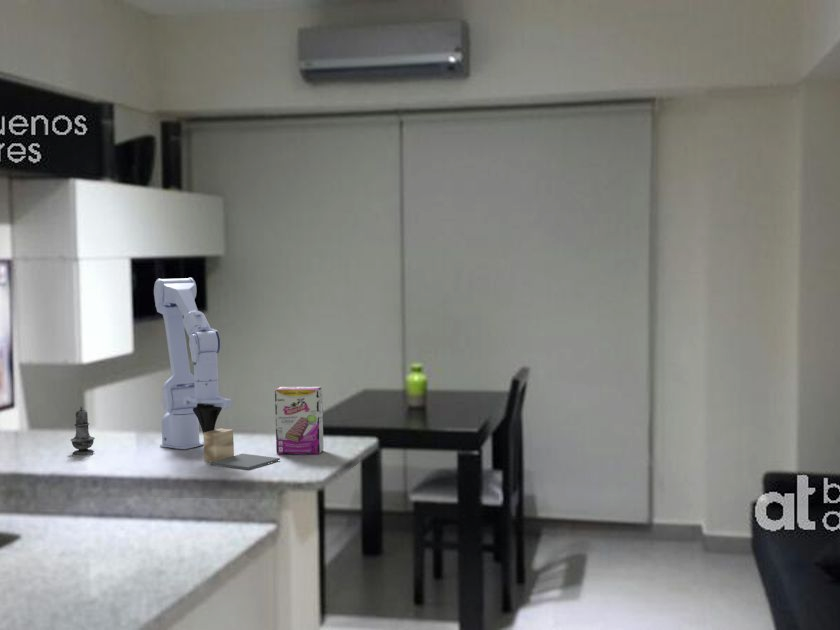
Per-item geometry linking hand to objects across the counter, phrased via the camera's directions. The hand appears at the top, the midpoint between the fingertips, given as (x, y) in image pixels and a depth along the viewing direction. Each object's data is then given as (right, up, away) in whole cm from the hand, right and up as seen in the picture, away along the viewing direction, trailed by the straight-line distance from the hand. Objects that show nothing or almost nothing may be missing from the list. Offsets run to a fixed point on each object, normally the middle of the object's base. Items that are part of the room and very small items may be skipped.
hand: (208, 435), depth 231 cm
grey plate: (+10, -6, -6) cm, 13 cm away
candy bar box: (+22, -5, +4) cm, 23 cm away
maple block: (+3, -6, -1) cm, 7 cm away
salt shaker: (-34, -6, +11) cm, 36 cm away
